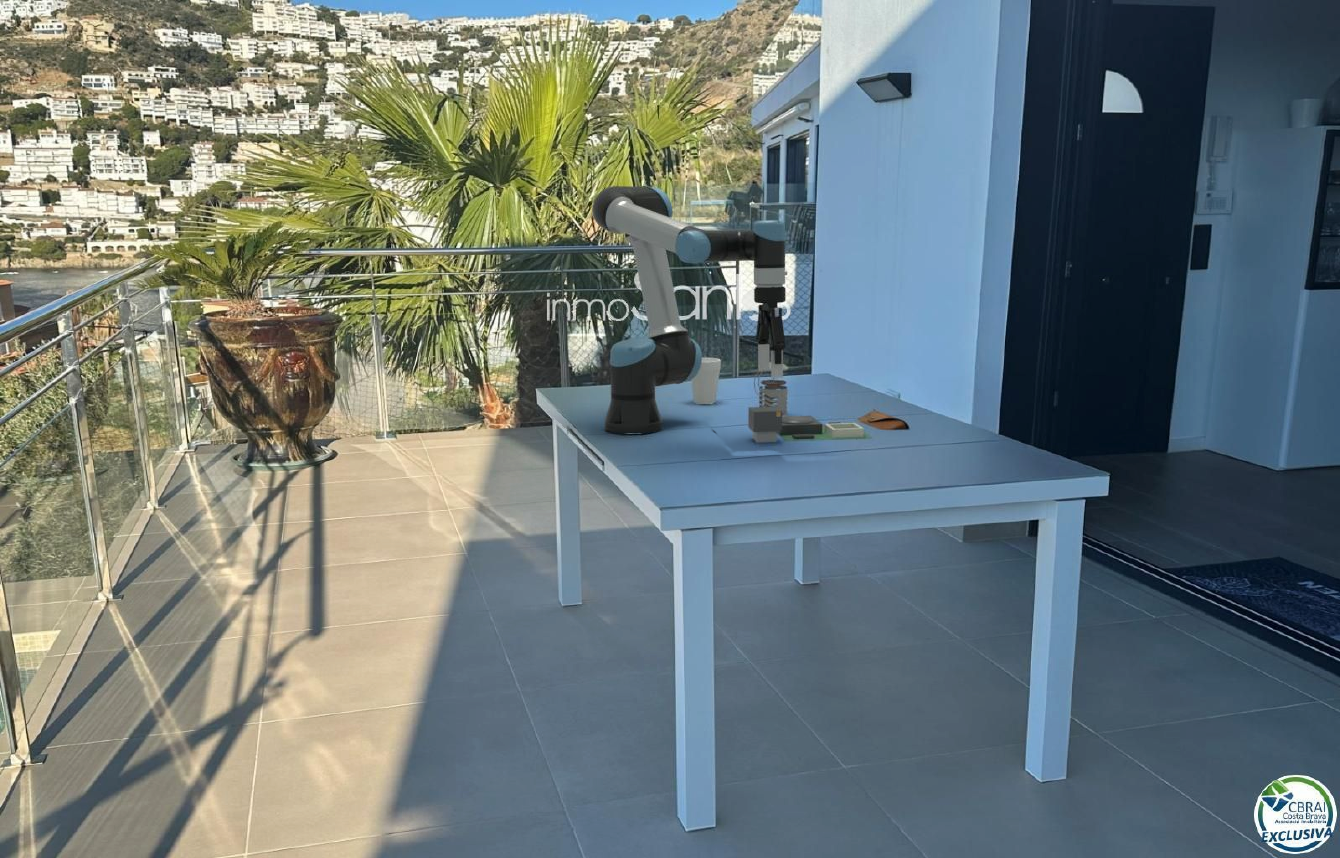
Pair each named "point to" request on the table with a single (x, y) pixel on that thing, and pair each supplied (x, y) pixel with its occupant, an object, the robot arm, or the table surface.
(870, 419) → the sunglasses case
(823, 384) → the table surface
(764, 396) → the french press
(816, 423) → the fan
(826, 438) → the board
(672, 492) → the table surface
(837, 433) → the frame
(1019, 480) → the table surface
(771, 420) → the plug
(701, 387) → the foam cup
